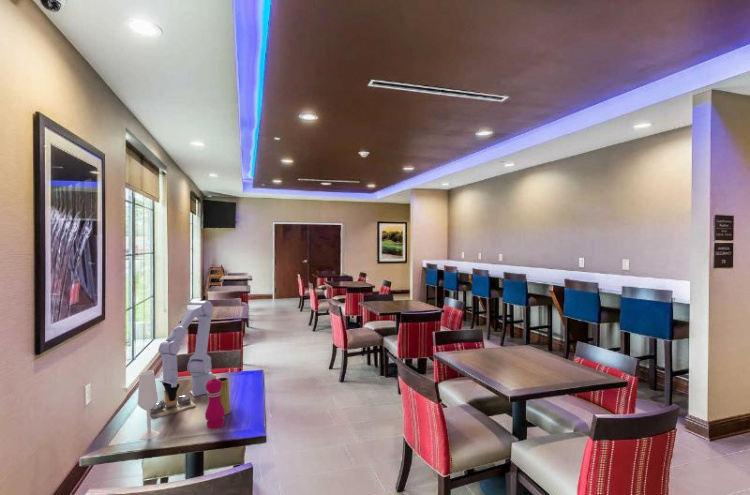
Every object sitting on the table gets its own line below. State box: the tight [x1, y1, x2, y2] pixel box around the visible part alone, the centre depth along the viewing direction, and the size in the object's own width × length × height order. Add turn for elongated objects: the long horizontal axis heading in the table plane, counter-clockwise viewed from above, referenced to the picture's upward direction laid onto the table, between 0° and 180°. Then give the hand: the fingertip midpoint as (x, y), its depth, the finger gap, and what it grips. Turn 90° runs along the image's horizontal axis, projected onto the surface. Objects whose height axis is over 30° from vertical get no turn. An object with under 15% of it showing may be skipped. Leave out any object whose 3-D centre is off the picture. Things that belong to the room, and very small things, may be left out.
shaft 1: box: [150, 400, 165, 414], centre depth 176 cm, size 5×4×5 cm
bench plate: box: [150, 400, 196, 419], centre depth 181 cm, size 17×11×1 cm, turn 127°
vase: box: [217, 377, 231, 416], centre depth 175 cm, size 6×6×14 cm
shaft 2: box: [177, 393, 192, 405], centre depth 184 cm, size 5×4×5 cm
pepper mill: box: [204, 374, 226, 430], centre depth 163 cm, size 7×7×20 cm
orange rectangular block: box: [164, 390, 178, 407], centre depth 180 cm, size 4×4×6 cm
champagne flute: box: [137, 370, 160, 441], centre depth 156 cm, size 7×7×24 cm
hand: (171, 399), depth 181 cm, fingers closed on orange rectangular block, 4 cm apart
